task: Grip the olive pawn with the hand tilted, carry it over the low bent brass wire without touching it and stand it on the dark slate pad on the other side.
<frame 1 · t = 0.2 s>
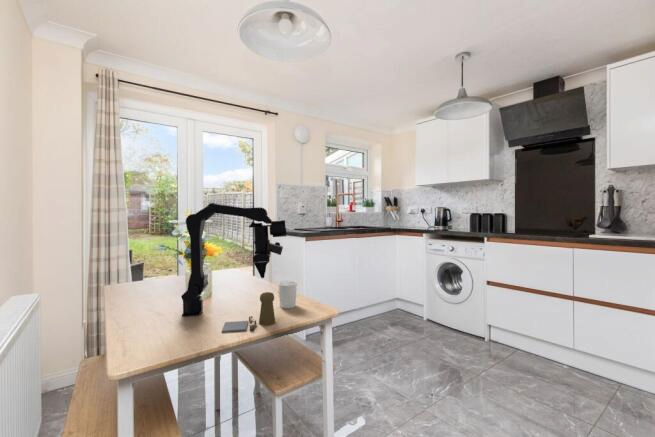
hand: (263, 275, 125), 14 cm above the table, tool pointing down, fingers open, 9 cm apart
slate pad: (235, 327, 107), on the table
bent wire: (253, 324, 109), on the table
olive pawn: (267, 323, 111), on the table
white cup: (287, 306, 130), on the table
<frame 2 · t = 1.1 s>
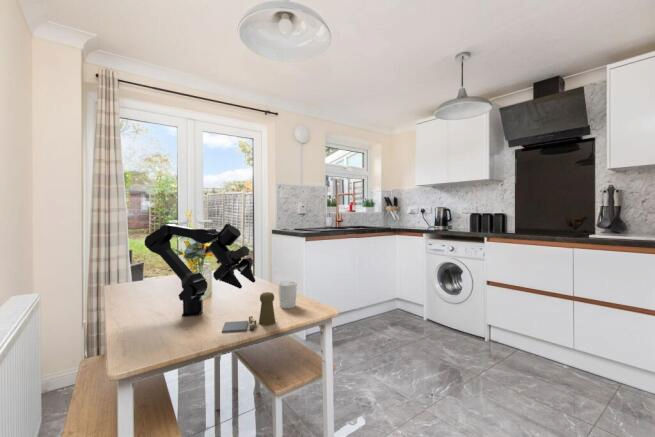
hand: (248, 284, 113), 13 cm above the table, tool tilted 45°, fingers open, 9 cm apart
nothing on the table moved.
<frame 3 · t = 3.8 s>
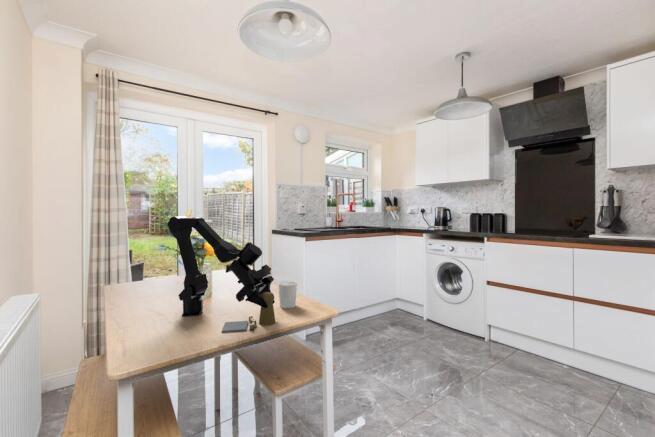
hand: (270, 305, 110), 7 cm above the table, tool tilted 45°, fingers closed on olive pawn, 5 cm apart
olive pawn: (267, 323, 111), on the table, touching gripper
everything else where it was.
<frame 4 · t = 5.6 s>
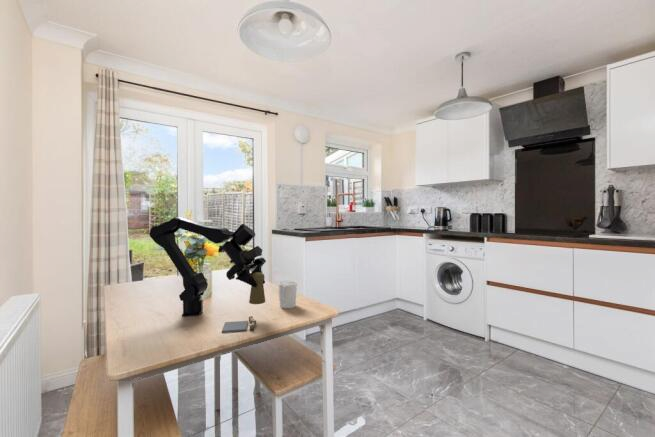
hand: (260, 284, 114), 13 cm above the table, tool tilted 45°, fingers closed on olive pawn, 5 cm apart
olive pawn: (257, 302, 114), point 6 cm above the table, touching gripper
everything else where it was.
when the fingers open (8 cm above the table, at t = 7.6 s): olive pawn drops 1 cm, resting on slate pad.
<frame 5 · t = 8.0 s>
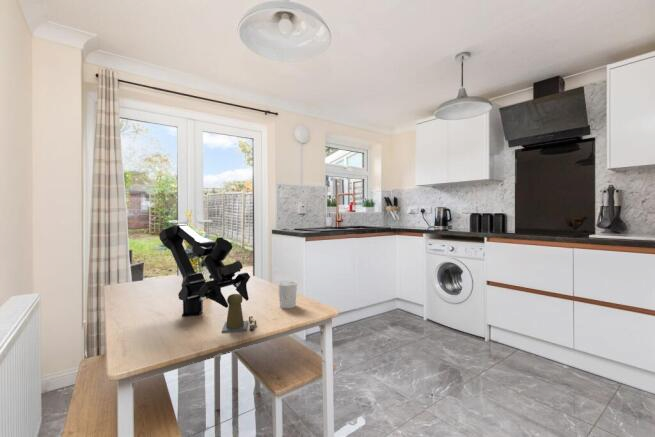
hand: (237, 303, 106), 9 cm above the table, tool tilted 45°, fingers open, 9 cm apart
olive pawn: (235, 326, 107), resting on slate pad
everything else where it was.
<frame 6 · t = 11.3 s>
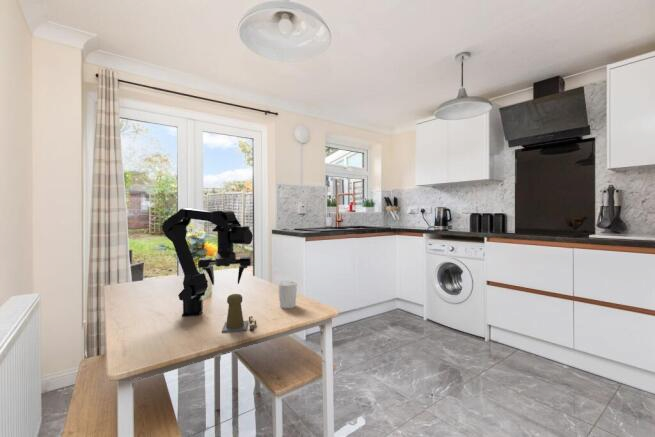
hand: (225, 284, 115), 13 cm above the table, tool pointing down, fingers open, 9 cm apart
nothing on the table moved.
at the end: olive pawn inside the target area on the slate pad (0.1 cm from its centre), point 0.4 cm above the slate pad's base; olive pawn tilted 0°; olive pawn touching slate pad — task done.
